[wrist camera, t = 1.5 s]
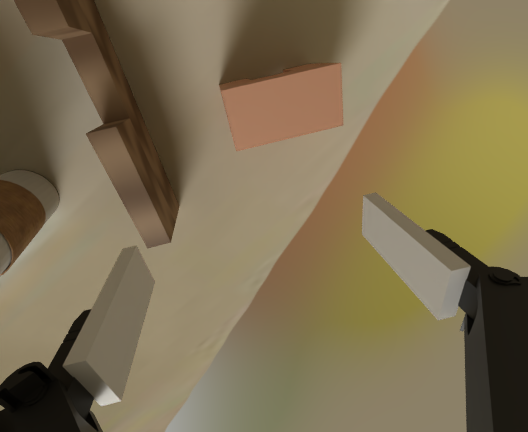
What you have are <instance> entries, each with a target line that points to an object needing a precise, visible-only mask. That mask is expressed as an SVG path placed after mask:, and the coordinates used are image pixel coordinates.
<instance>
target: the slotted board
mask: <svg viewBox="0 0 528 432" xmlns="http://www.w3.org/2000/svg"><path fill="white" fill-rule="evenodd" d="M14 2H15V3H16V5H17V7H18V9H19V11H20V13H21V14H22V16H23V18H24V20H25V22H26V24H27V26H28V27H29V29H30V31H31V33H32V35H38V36H44V37H50V38H55V39H61V40H62V41H63V43H64V45H65V47H66V49H67V51H68V53H69V55H70V57H71V59H72V61H73V63H74V65H75V67H76V69H77V71H78V73H79V75H80V77H81V79H82V81H83V83H84V85H85V87H86V89H87V91H88V93H89V95H90V97H91V99H92V101H93V103H94V105H95V107H96V109H97V111H98V114H99V116H100V118H101V120H102V122H103V125H101V126H100V127H98V128H96V129H94V130H92V131H90V132H88V133H86V135H87V137H88V139H89V141H90V142H91V144H92V146H93V148H94V150H95V152H96V154H97V155H98V157H99V159H100V161H101V163H102V165H103V167H104V168H105V170H106V172H107V174H108V176H109V178H110V180H111V181H112V183H113V185H114V187H115V189H116V191H117V193H118V194H119V196H120V198H121V200H122V202H123V204H124V206H125V207H126V209H127V211H128V213H129V215H130V217H131V219H132V220H133V222H134V224H135V226H136V228H137V230H138V232H139V233H140V235H141V237H142V239H143V241H144V243H145V245H146V246H147V248H151V247H155V246H158V245H162V244H166V243H170V242H171V239H172V235H173V231H174V227H175V222H176V218H177V214H178V210H179V205H178V202H177V200H176V197H175V195H174V193H173V190H172V188H171V185H170V183H169V181H168V178H167V176H166V173H165V171H164V169H163V166H162V164H161V161H160V159H159V156H158V154H157V152H156V149H155V147H154V144H153V142H152V140H151V137H150V135H149V132H148V130H147V128H146V125H145V123H144V120H143V118H142V116H141V113H140V111H139V108H138V106H137V104H136V101H135V99H134V96H133V94H132V91H131V89H130V87H129V84H128V82H127V79H126V77H125V75H124V72H123V70H122V67H121V65H120V63H119V60H118V58H117V55H116V53H115V51H114V48H113V46H112V43H111V41H110V39H109V36H108V34H107V31H106V29H105V27H104V24H103V22H102V19H101V17H100V14H99V12H98V10H97V7H96V5H95V2H94V0H14Z"/></svg>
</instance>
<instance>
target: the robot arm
mask: <svg viewBox="0 0 528 432" xmlns="http://www.w3.org/2000/svg"><path fill="white" fill-rule="evenodd" d="M362 235H363V236H364V237H365V238H366V239H367V240H368V241H369V243H370V244H371V245H372V246H373V247H374V248H375V249H376V251H377V252H378V253H379V254H380V255H381V256H382V257H383V258H384V260H385V261H386V262H387V263H388V264H389V265H390V266H391V267H392V269H393V270H394V271H395V272H396V273H397V274H398V275H399V277H400V278H401V279H402V280H403V281H404V282H405V283H406V284H407V285H408V287H409V288H410V289H411V290H412V291H413V292H414V294H415V295H416V296H417V297H418V298H419V299H420V300H421V301H422V302H423V304H424V305H425V306H426V307H427V308H428V309H429V310H430V312H431V313H432V314H433V315H434V316H435V317H436V318H437V320H441V319H445V318H449V317H453V316H455V315H456V312H457V309H458V306H459V307H460V308H461V309H462V310H463V311H464V312H466V314H465V317H464V320H463V323H462V326H461V329H460V331H464V333H465V334H464V335H465V336H464V337H465V375H466V376H465V379H466V416H467V417H466V418H467V419H466V421H467V432H528V277H520V276H519V275H518V274H516V273H514V272H512V271H510V270H508V269H504V268H500V267H488V266H487V265H485V264H484V263H483V262H481V261H480V260H478V259H477V258H476V257H474V256H473V255H471V254H470V253H469V252H468V251H466V250H465V249H463V248H462V247H460V246H459V245H458V244H456V243H455V242H453V241H452V240H451V239H450V238H448V237H447V236H445V235H444V234H442V233H440V232H437V231H435V230H433V229H430V230H426V231H425V230H423V229H422V228H421V227H419V226H418V225H417V224H416V223H414V222H413V221H412V220H411V219H409V218H408V217H407V216H405V215H404V214H403V213H402V212H400V211H399V210H398V209H396V208H395V207H394V206H393V205H391V204H390V203H389V202H387V201H386V200H385V199H384V198H382V197H381V196H380V195H378V194H377V193H372V194H368V195H363V219H362ZM154 283H155V281H154V279H153V277H152V275H151V273H150V271H149V269H148V267H147V265H146V263H145V261H144V259H143V257H142V255H141V253H140V251H139V249H138V247H137V246H133V247H128V248H124V249H122V251H121V253H120V255H119V257H118V259H117V261H116V263H115V265H114V267H113V269H112V271H111V272H110V274H109V276H108V278H107V280H106V282H105V284H104V286H103V288H102V290H101V292H100V294H99V296H98V298H97V300H96V302H95V304H94V306H93V307H92V309H90V310H86V311H83V312H82V314H81V315H80V316H79V317H78V318H77V319H76V320H75V321H74V323H73V324H72V326H71V328H70V330H69V331H68V334H67V335H66V337H65V339H64V340H63V343H62V344H61V346H60V348H59V349H58V351H57V353H56V355H55V357H54V358H53V360H52V362H51V364H50V365H49V367H48V369H47V368H46V367H45V366H44V365H43V364H42V363H41V362H32V363H29V364H26V365H24V366H22V367H21V368H19V369H17V370H16V371H15V372H13V373H12V374H11V375H10V376H8V377H7V378H6V379H5V381H4V382H3V383H2V384H1V385H0V405H1V406H3V407H4V408H5V409H3V410H2V411H0V432H103V431H102V429H101V427H100V425H99V423H98V421H97V419H96V417H95V415H94V414H93V413H92V412H91V411H90V408H91V405H92V402H93V400H94V399H95V400H96V401H97V402H98V404H99V405H100V406H104V405H108V404H112V403H116V402H120V401H121V400H122V396H123V393H124V389H125V386H126V382H127V379H128V375H129V372H130V368H131V365H132V361H133V358H134V354H135V351H136V347H137V343H138V340H139V336H140V333H141V329H142V326H143V322H144V319H145V315H146V312H147V308H148V305H149V301H150V298H151V294H152V291H153V287H154Z"/></svg>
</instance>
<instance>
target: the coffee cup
mask: <svg viewBox="0 0 528 432" xmlns="http://www.w3.org/2000/svg"><path fill="white" fill-rule="evenodd" d="M58 205H59V196H58V193H57V191H56V189H55V187H54V186H53V185H52V184H51V183H50V182H49V181H48V180H47V179H45V178H44V177H42V176H40V175H38V174H36V173H33V172H30V171H26V170H13V171H10V172H6V173H4V174H1V175H0V276H1V275H3V274H4V273H5V272H6V271H7V270H9V268H10V267H11V266H12V265H13V263H14V262H15V261H16V259H17V258H18V257H19V256H20V254H21V253H22V252H23V251H24V249H25V248H26V247H27V246H28V244H29V243H30V242H31V241H32V239H33V238H34V237H35V235H36V234H37V233H38V232H39V230H40V229H41V228H42V226H43V225H44V224H45V222H46V221H47V220H48V219H49V218H50V217H51V216H52V214H53V213H54V212H55V211H56V209H57V208H58Z"/></svg>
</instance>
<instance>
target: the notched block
mask: <svg viewBox="0 0 528 432" xmlns="http://www.w3.org/2000/svg"><path fill="white" fill-rule="evenodd" d="M219 86H220V90H221V94H222V98H223V102H224V106H225V110H226V114H227V117H228V121H229V125H230V129H231V133H232V137H233V140H234V144H235V148H236V151H240V150H244V149H248V148H252V147H256V146H260V145H264V144H268V143H273V142H277V141H281V140H285V139H289V138H293V137H297V136H301V135H305V134H309V133H314V132H318V131H322V130H326V129H330V128H334V127H338V126H342V125H343V102H342V74H341V63H315V64H306V65H302V66H298V67H293V68H289V69H285V70H283V73H280V74H276V75H272V76H267V77H263V78H259V79H254V80H250V79H247V78H246V79H241V80H237V81H233V82H228V83H224V84H220V85H219Z"/></svg>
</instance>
